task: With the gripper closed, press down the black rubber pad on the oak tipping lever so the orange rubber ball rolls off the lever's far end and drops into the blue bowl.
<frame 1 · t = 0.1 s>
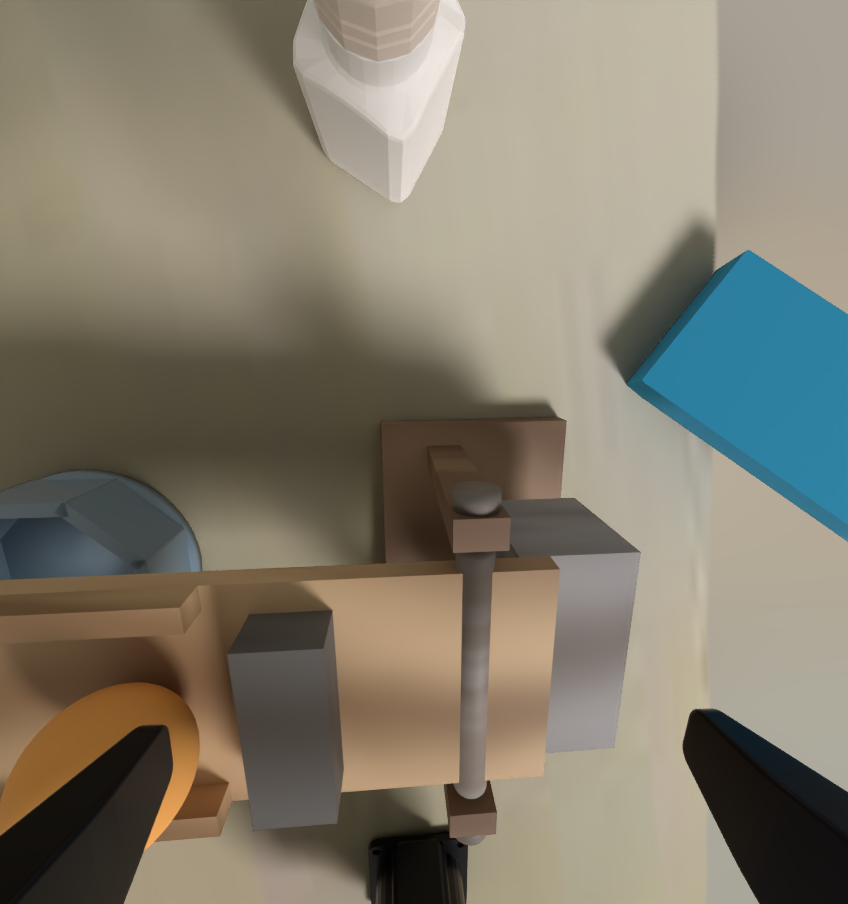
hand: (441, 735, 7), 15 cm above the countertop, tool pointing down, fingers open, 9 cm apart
ball: (110, 772, 10), point 11 cm above the countertop, touching tipping lever
tipping lever: (305, 648, 15), point 7 cm above the countertop, hinge at 0.0°, touching ball
blue bowl: (102, 561, 21), on the countertop
pepper shaker: (384, 144, 17), on the countertop
lever stand: (441, 547, 22), on the countertop
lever: (776, 426, 22), on the countertop
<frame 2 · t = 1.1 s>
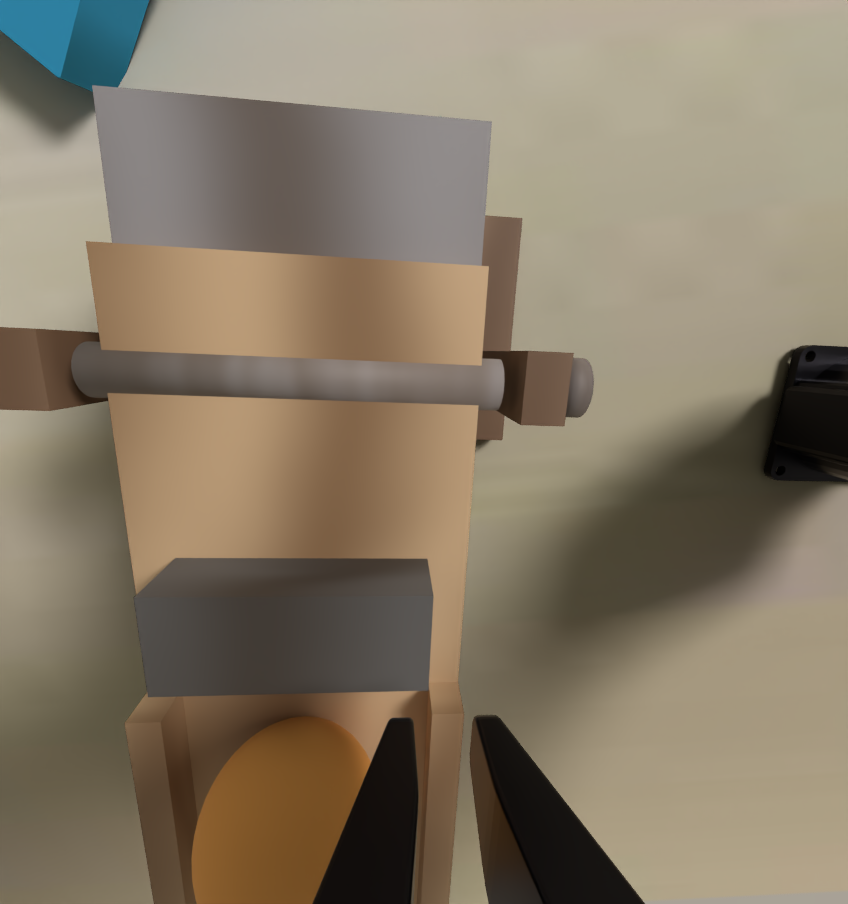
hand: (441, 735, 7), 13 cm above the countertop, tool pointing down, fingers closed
ball: (292, 821, 9), point 11 cm above the countertop, touching tipping lever
tipping lever: (320, 567, 12), point 7 cm above the countertop, hinge at 0.0°, touching ball
lever stand: (346, 364, 18), on the countertop
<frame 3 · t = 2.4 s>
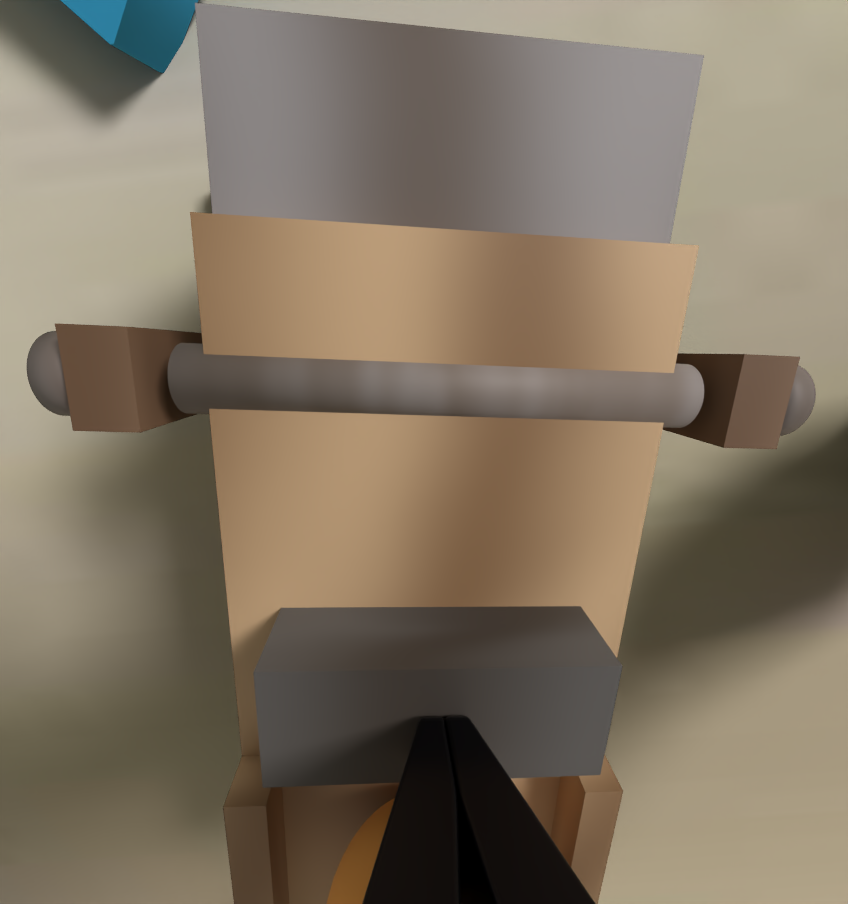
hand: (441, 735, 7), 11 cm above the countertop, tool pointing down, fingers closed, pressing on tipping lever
tipping lever: (424, 604, 11), point 7 cm above the countertop, hinge at 1.1°, touching ball, gripper
lever stand: (418, 367, 16), on the countertop
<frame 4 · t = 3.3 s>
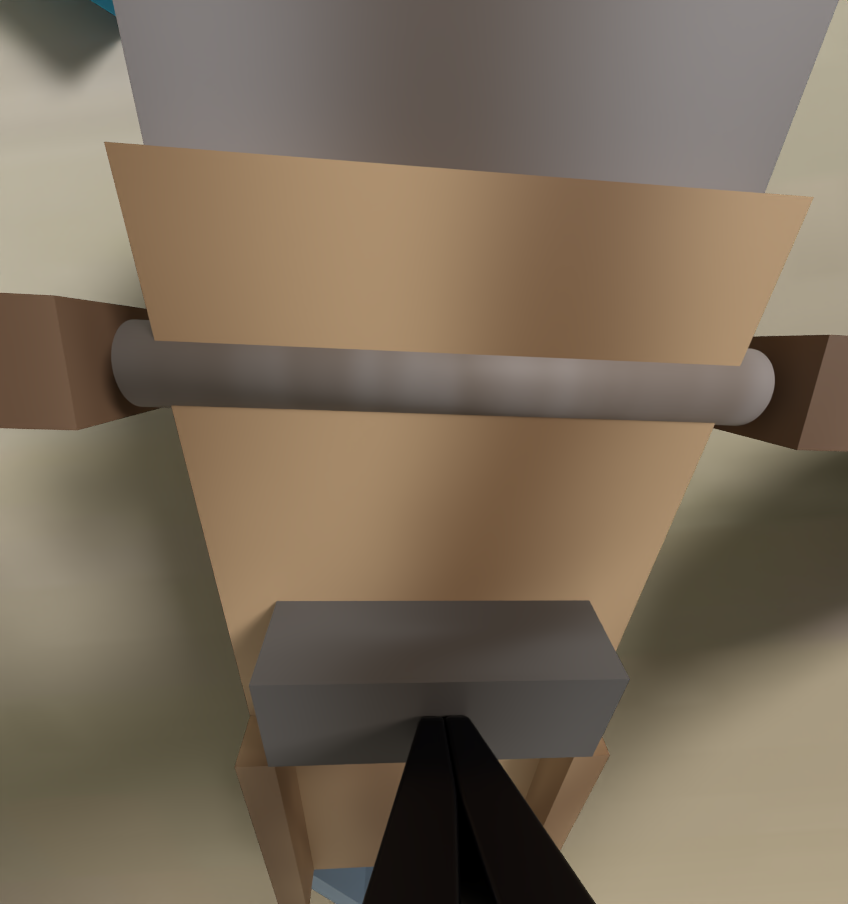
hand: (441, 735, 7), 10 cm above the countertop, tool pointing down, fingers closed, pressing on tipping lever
tipping lever: (426, 574, 10), point 6 cm above the countertop, hinge at 13.8°, touching ball, gripper
blue bowl: (405, 738, 19), on the countertop
lever stand: (421, 357, 15), on the countertop
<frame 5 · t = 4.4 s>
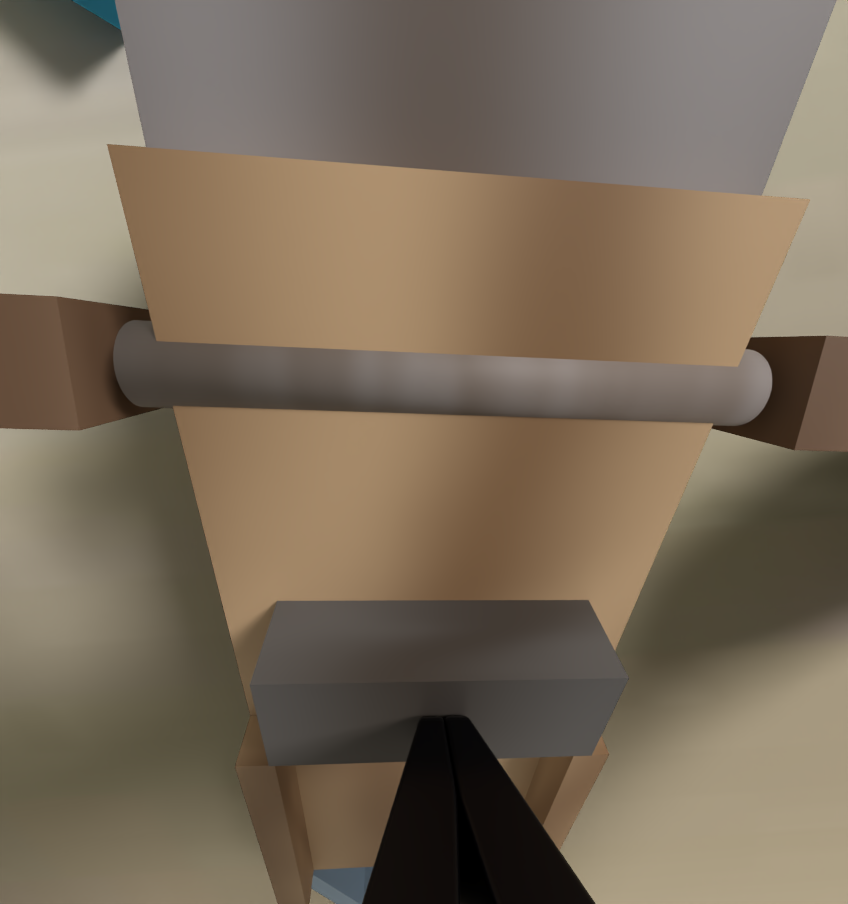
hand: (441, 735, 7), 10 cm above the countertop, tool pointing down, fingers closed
tipping lever: (426, 574, 10), point 6 cm above the countertop, hinge at 13.7°, touching ball
blue bowl: (405, 738, 19), on the countertop
lever stand: (420, 358, 15), on the countertop
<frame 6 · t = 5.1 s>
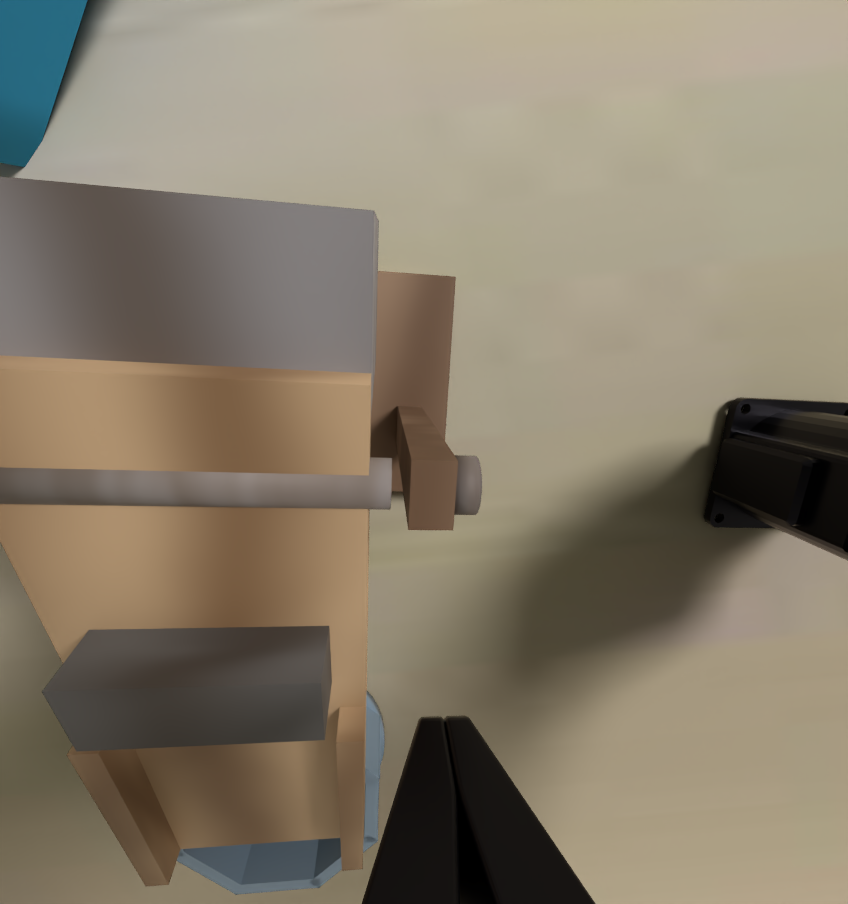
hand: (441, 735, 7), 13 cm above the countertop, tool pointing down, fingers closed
tipping lever: (244, 603, 13), point 6 cm above the countertop, hinge at 13.7°, touching ball
blue bowl: (292, 739, 22), on the countertop
lever stand: (283, 416, 18), on the countertop
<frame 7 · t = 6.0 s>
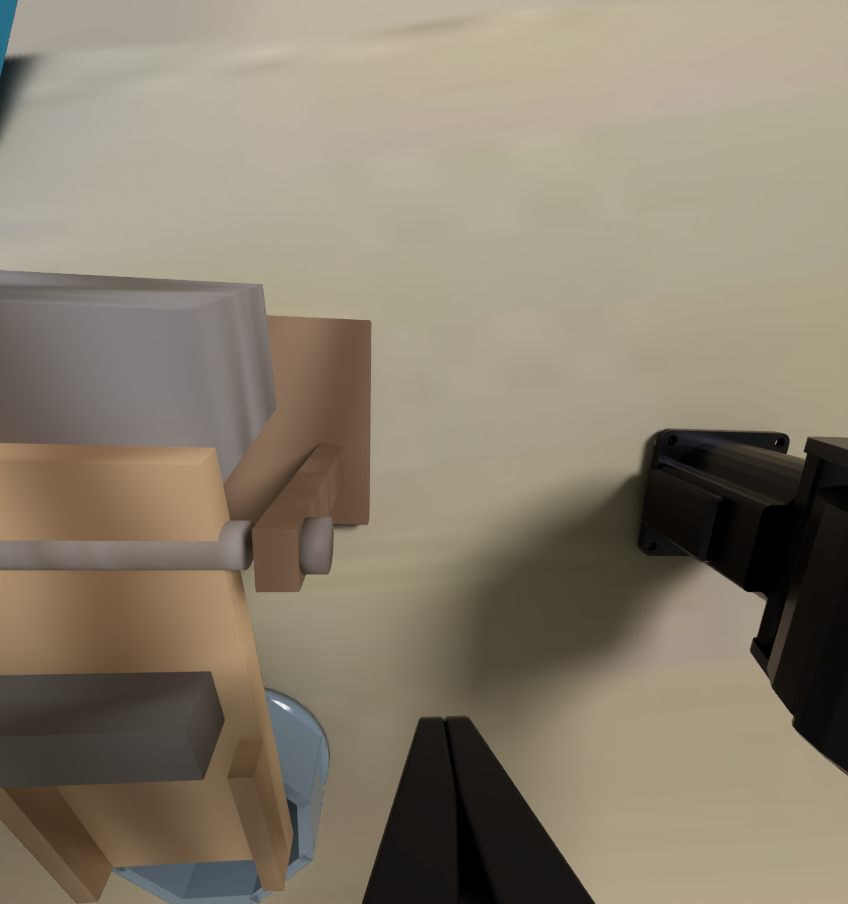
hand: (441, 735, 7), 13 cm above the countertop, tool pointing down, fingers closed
tipping lever: (152, 642, 14), point 6 cm above the countertop, hinge at 13.7°, touching ball
blue bowl: (240, 757, 23), on the countertop
lever stand: (214, 452, 18), on the countertop
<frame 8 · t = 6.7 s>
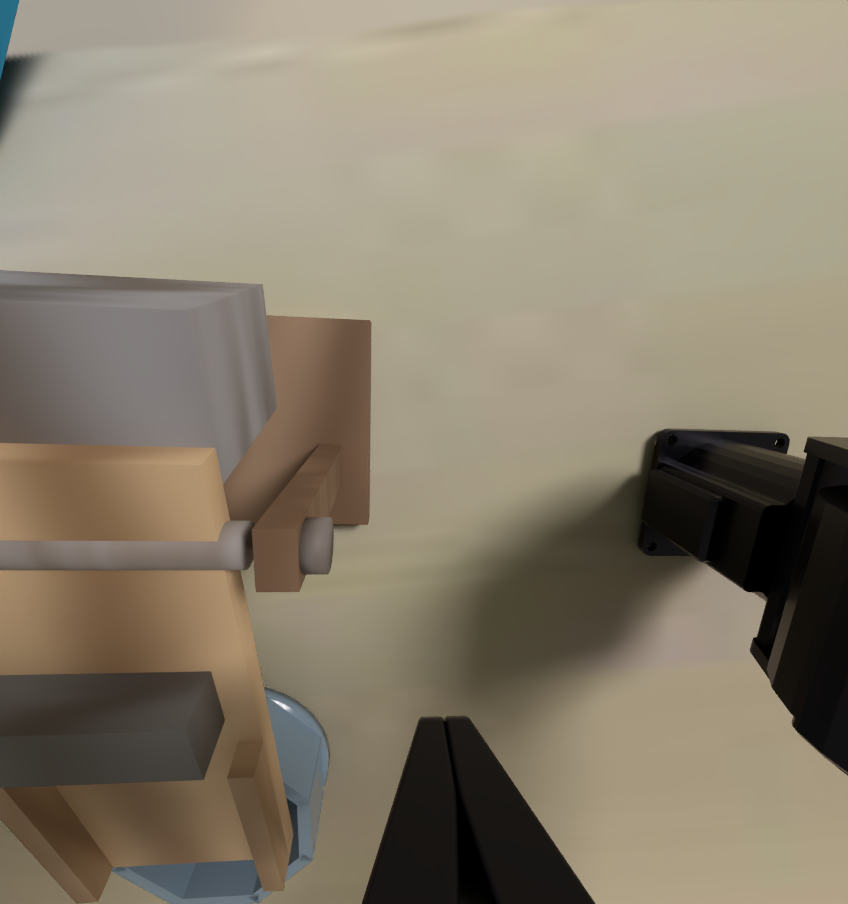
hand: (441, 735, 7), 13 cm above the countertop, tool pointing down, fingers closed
tipping lever: (152, 642, 14), point 6 cm above the countertop, hinge at 13.7°, touching ball
blue bowl: (240, 757, 23), on the countertop
lever stand: (214, 452, 18), on the countertop
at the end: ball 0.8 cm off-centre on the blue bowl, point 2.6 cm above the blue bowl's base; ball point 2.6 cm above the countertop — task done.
